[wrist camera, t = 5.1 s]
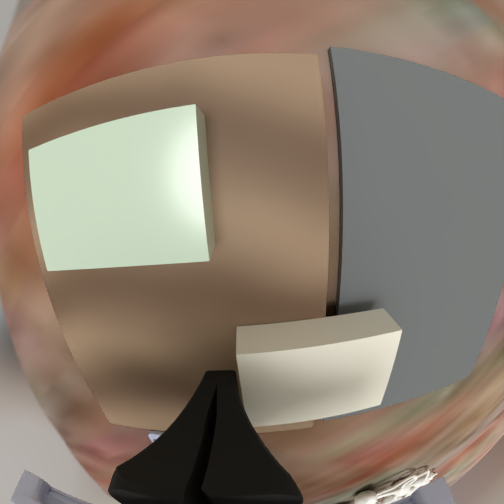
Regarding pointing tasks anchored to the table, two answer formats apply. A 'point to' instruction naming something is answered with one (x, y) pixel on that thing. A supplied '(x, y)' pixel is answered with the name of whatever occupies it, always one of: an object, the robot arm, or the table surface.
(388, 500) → the tangled rod sculpture
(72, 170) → the tile sage
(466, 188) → the mat
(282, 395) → the tile cream
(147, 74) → the board
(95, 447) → the table surface
